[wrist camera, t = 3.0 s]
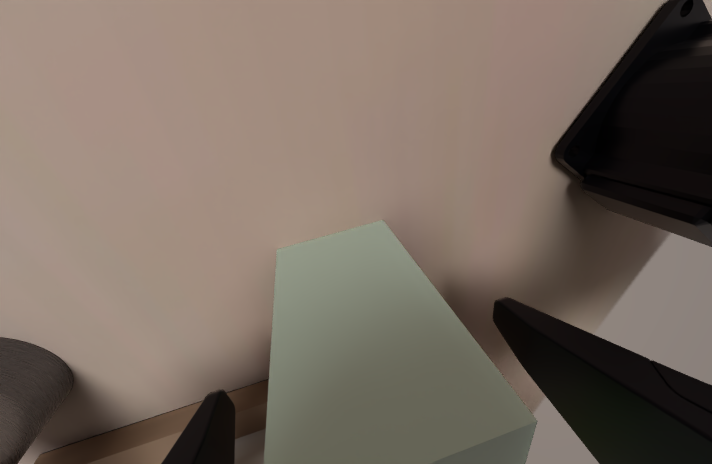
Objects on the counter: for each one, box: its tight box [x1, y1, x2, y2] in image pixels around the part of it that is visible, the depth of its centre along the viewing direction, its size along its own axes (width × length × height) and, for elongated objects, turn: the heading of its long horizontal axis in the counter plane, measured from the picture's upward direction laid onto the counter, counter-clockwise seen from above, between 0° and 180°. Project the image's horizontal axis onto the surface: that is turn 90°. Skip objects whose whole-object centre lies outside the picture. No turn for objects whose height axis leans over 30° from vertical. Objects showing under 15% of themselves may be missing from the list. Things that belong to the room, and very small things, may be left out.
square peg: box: [264, 220, 537, 464], centre depth 9 cm, size 4×4×8 cm
